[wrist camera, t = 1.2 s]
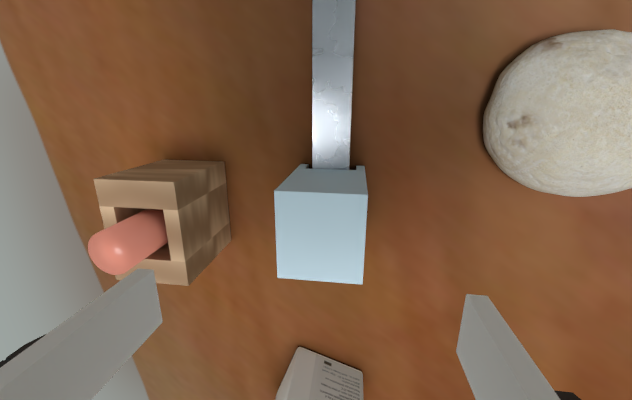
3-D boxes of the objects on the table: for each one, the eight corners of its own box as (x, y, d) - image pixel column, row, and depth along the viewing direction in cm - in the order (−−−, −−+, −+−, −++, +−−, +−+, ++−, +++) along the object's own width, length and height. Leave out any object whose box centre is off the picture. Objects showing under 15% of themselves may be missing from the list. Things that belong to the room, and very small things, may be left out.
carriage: (300, 164, 26) (274, 190, 18) (364, 165, 26) (367, 194, 17) (301, 226, 28) (277, 277, 20) (360, 229, 28) (362, 284, 19)
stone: (461, 114, 28) (452, 170, 23) (540, -5, 20) (551, 43, 15) (600, 165, 27) (621, 235, 22) (745, 59, 19) (827, 134, 14)
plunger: (163, 194, 26) (83, 230, 18) (195, 195, 26) (127, 233, 18) (168, 226, 27) (93, 272, 19) (199, 228, 26) (136, 276, 19)
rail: (309, -54, 22) (299, -88, 18) (365, -57, 21) (366, -93, 17) (310, 245, 29) (302, 266, 25) (351, 248, 28) (350, 269, 25)
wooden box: (164, 159, 28) (93, 178, 21) (224, 161, 27) (173, 182, 20) (175, 236, 31) (116, 279, 23) (231, 240, 30) (188, 285, 22)
